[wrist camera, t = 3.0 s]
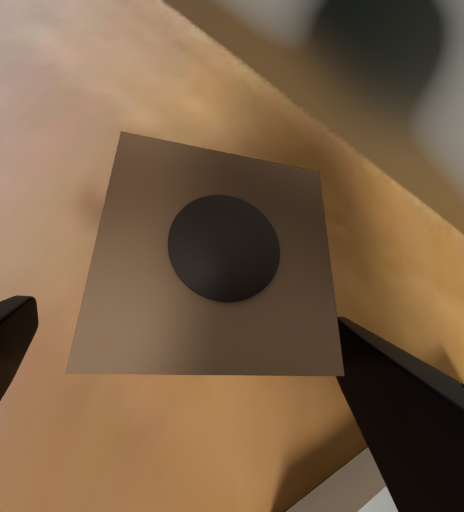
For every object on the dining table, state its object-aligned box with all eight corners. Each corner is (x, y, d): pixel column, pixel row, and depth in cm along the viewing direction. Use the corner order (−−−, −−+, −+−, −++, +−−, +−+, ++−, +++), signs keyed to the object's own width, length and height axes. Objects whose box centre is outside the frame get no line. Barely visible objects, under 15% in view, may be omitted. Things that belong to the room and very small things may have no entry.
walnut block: (218, 365, 16) (347, 376, 5) (131, 364, 15) (62, 373, 4) (221, 285, 18) (321, 169, 7) (144, 278, 17) (120, 127, 6)
